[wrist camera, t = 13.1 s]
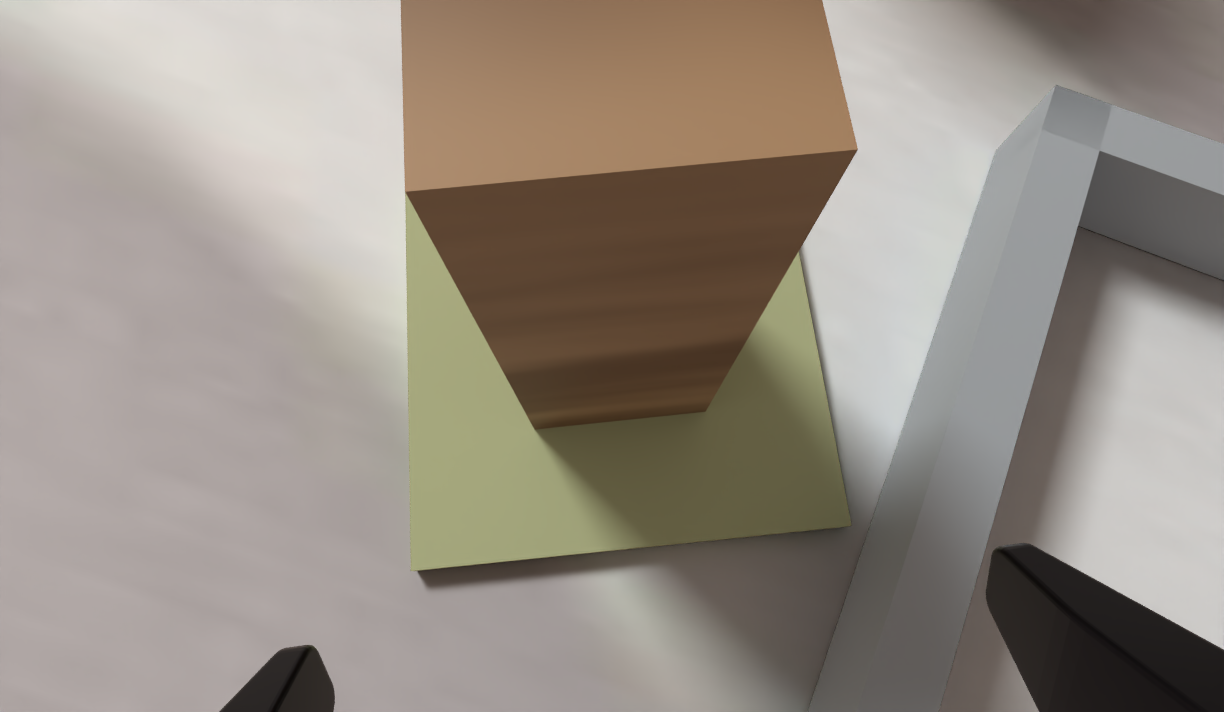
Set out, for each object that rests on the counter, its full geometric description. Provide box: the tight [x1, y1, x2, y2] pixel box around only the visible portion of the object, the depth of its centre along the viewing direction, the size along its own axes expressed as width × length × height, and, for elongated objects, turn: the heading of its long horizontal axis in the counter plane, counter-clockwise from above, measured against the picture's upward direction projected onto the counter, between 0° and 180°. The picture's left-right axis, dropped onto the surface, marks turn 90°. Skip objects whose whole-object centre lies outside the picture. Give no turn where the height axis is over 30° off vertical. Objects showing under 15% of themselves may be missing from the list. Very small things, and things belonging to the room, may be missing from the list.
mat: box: [405, 192, 852, 571], centre depth 19 cm, size 11×11×1 cm
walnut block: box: [401, 0, 858, 430], centre depth 13 cm, size 4×4×12 cm
